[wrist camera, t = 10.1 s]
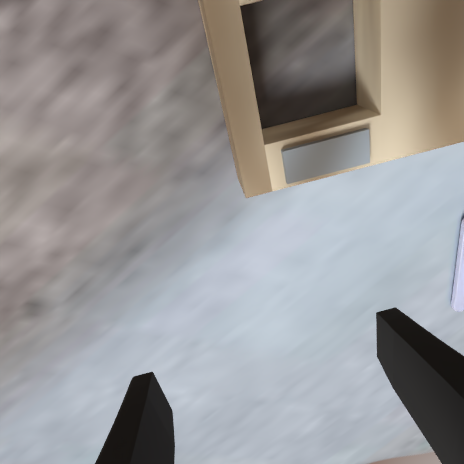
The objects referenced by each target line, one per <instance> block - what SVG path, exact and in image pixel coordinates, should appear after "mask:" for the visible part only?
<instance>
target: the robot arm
mask: <svg viewBox="0 0 464 464" xmlns="http://www.w3.org/2000/svg"><path fill="white" fill-rule="evenodd" d="M451 307H452V308H453V309H454V310H455V311H457V312H458V311H463V310H464V218H463V220H462V223H461V230H460V238H459V245H458V253H457V261H456V269H455V277H454V285H453V293H452V301H451ZM376 319H377V357H378V359H379V361H380V363H381V365H382V367H383V369H384V371H385V373H386V375H387V377H388V379H389V381H390V383H391V385H392V387H393V389H394V390H395V392H396V393H397V395H398V396H399V398H400V400H401V401H402V403H403V404H404V406H405V407H406V409H407V410H408V412H409V413H410V415H411V417H412V418H413V420H414V421H415V423H416V424H417V426H418V427H419V429H420V430H421V432H422V433H423V435H424V436H425V438H426V440H427V441H428V443H429V444H430V446H431V447H432V449H433V450H434V452H435V453H436V455H437V456H438V458H439V460H440V461H441V463H442V464H464V356H463V355H461V354H460V353H458V352H457V351H456V350H454V349H453V348H451V347H450V346H448V345H447V344H445V343H444V342H442V341H441V340H440V339H438V338H437V337H435V336H434V335H433V334H431V333H430V332H428V331H427V330H426V329H424V328H423V327H421V326H420V325H419V324H417V323H416V322H415V321H413V320H412V319H411V318H409V317H408V316H407V315H405V314H404V313H403V312H401V311H400V310H398V309H397V308H392V309H388V310H384V311H380V312H377V313H376ZM174 453H175V442H174V426H173V413H172V409H171V407H170V405H169V403H168V401H167V399H166V397H165V395H164V393H163V391H162V389H161V387H160V385H159V383H158V381H157V379H156V377H155V375H154V373H153V372H149V373H146V374H142V375H138V376H134V377H133V378H132V380H131V382H130V385H129V387H128V390H127V392H126V395H125V397H124V400H123V402H122V405H121V407H120V410H119V412H118V414H117V417H116V419H115V421H114V424H113V426H112V428H111V430H110V433H109V435H108V437H107V439H106V441H105V444H104V446H103V448H102V450H101V452H100V454H99V456H98V459H97V461H96V463H95V464H174Z"/></svg>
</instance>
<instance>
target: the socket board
mask: <svg viewBox="0 0 464 464" xmlns="http://www.w3.org/2000/svg"><path fill="white" fill-rule="evenodd" d="M259 1H263V0H198V2H199V7H200V11H201V16H202V20H203V24H204V29H205V33H206V38H207V42H208V47H209V51H210V56H211V60H212V64H213V69H214V73H215V78H216V82H217V87H218V91H219V96H220V100H221V105H222V109H223V113H224V118H225V122H226V127H227V131H228V136H229V140H230V145H231V149H232V153H233V158H234V162H235V167H236V171H237V176H238V180H239V182H240V185H241V187H242V189H243V192H244V194H245V197H246V198H249V197H253V196H256V195H260V194H264V193H268V192H272V191H276V190H279V189H283V188H287V187H291V186H295V185H299V184H302V183H306V182H310V181H314V180H318V179H322V178H326V177H329V176H333V175H337V174H341V173H345V172H349V171H352V170H356V169H360V168H364V167H368V166H372V165H376V164H379V163H383V162H387V161H391V160H395V159H399V158H402V157H406V156H410V155H414V154H418V153H422V152H426V151H429V150H433V149H437V148H441V147H445V146H449V145H452V144H456V143H460V142H464V0H353V15H354V41H355V67H356V93H357V105H354V106H350V107H346V108H342V109H338V110H335V111H331V112H327V113H323V114H319V115H315V116H311V117H308V118H304V119H300V120H296V121H292V122H288V123H284V124H280V125H277V126H273V127H269V128H265V129H261V123H260V117H259V112H258V106H257V100H256V95H255V89H254V83H253V78H252V72H251V66H250V61H249V55H248V49H247V43H246V38H245V32H244V26H243V21H242V15H241V9H240V6H243V5H247V4H251V3H255V2H259Z"/></svg>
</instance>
